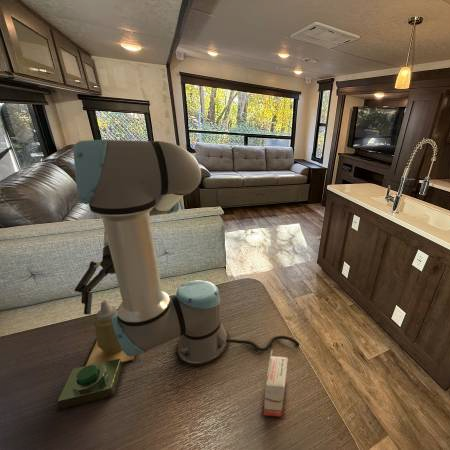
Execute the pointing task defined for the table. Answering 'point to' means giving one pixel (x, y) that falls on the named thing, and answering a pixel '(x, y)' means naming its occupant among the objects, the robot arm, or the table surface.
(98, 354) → the oak mat
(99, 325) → the squeeze bottle
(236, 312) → the table surface
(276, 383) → the ink cartridge box
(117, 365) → the green buzzer pad
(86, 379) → the button
